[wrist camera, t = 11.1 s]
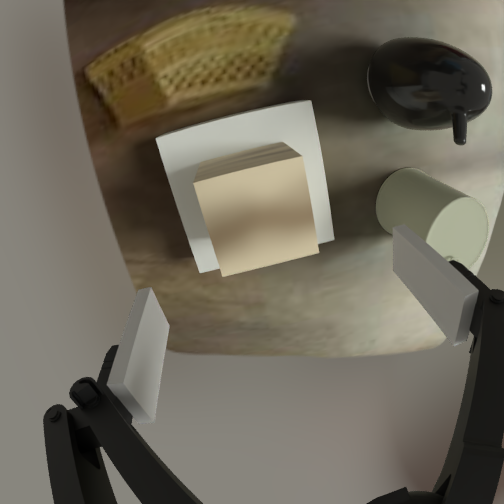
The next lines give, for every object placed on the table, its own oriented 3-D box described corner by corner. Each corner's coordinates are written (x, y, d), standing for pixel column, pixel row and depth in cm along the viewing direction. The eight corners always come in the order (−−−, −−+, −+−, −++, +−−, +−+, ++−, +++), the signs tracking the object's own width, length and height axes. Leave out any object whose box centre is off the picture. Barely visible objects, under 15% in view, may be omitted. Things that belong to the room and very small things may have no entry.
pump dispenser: (344, 110, 32) (420, 123, 18) (364, 29, 28) (445, 1, 14) (416, 138, 34) (503, 169, 20) (435, 64, 29) (525, 65, 16)
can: (369, 234, 39) (415, 284, 28) (381, 163, 35) (439, 193, 24) (425, 236, 40) (476, 281, 29) (440, 172, 36) (501, 202, 25)
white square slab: (163, 133, 32) (155, 138, 28) (301, 100, 31) (311, 100, 28) (201, 256, 38) (199, 273, 35) (324, 226, 38) (334, 239, 35)
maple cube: (200, 162, 30) (193, 182, 22) (282, 141, 29) (302, 156, 22) (222, 236, 33) (222, 276, 26) (298, 217, 33) (319, 252, 26)
